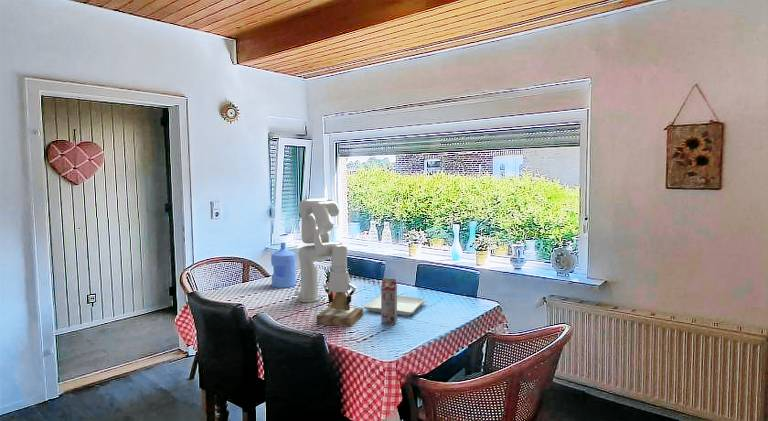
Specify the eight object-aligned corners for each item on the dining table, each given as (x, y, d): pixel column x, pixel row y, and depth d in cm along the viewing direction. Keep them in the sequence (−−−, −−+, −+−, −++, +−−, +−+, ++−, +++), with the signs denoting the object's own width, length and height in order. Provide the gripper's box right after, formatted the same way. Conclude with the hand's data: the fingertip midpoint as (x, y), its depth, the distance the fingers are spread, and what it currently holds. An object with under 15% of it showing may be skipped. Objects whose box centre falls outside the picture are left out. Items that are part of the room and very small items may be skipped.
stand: (316, 323, 235) (316, 315, 235) (330, 313, 252) (330, 305, 252) (351, 326, 230) (351, 318, 230) (362, 315, 247) (362, 307, 247)
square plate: (362, 313, 254) (362, 305, 253) (382, 300, 279) (382, 293, 279) (411, 318, 244) (411, 311, 243) (427, 304, 269) (427, 298, 269)
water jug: (288, 281, 326) (287, 240, 323) (300, 285, 314) (299, 243, 312) (267, 285, 315) (266, 243, 313) (279, 289, 304) (278, 245, 301)
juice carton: (394, 324, 233) (394, 280, 231) (381, 324, 234) (381, 279, 232) (396, 320, 239) (396, 277, 237) (383, 320, 240) (383, 276, 238)
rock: (355, 306, 239) (350, 298, 248) (346, 294, 235) (340, 286, 245) (338, 320, 237) (333, 311, 246) (328, 308, 234) (323, 300, 243)
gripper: (320, 269, 238) (321, 303, 239) (353, 271, 233) (353, 306, 235) (326, 266, 245) (326, 299, 247) (358, 268, 240) (358, 302, 242)
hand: (339, 302), depth 241 cm, fingers closed on rock, 9 cm apart
